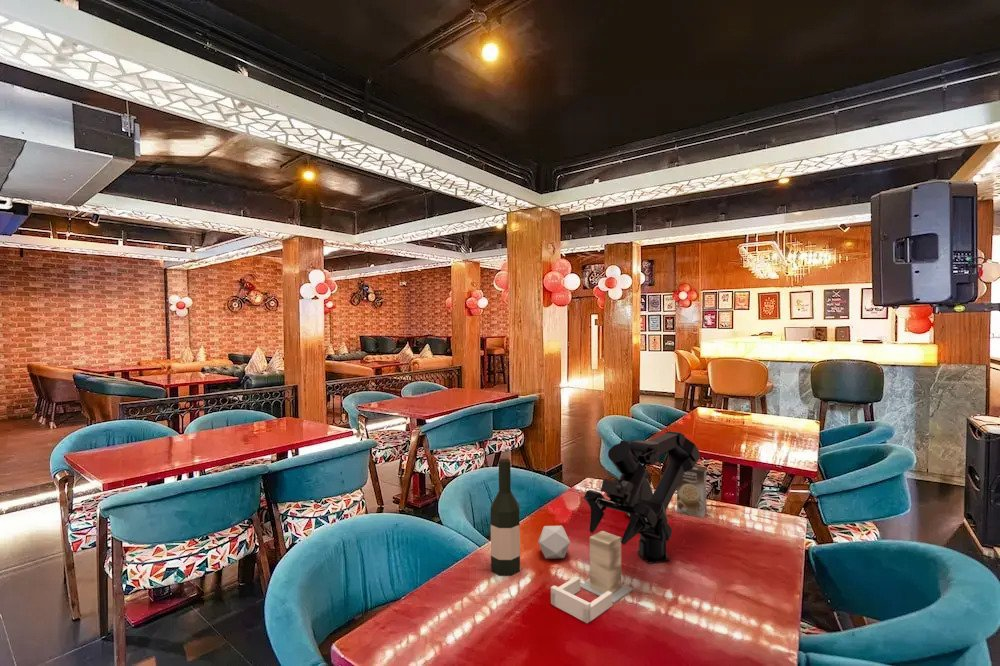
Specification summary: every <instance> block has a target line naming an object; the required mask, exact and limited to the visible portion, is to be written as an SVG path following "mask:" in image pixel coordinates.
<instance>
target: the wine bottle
mask: <svg viewBox="0 0 1000 666" xmlns="http://www.w3.org/2000/svg"><path fill="white" fill-rule="evenodd" d="M511 472H512V471H511V459H510V457H509V456H500V458H499V460H498V492H497V494H496V496H495V497H494V499H493V501H492V503H491V505H490V572H492V573H493V574H496V575H497V576H500V577H501V576H502V577H503V576H504V577H505V576H507V577H512V576H513V575H516V574H518V573H520V572H521V566H520V565H521V556H520V555H521V549H520V548H521V546H520V545H521V544H520V541H521V540H520V539H521V538H520V531H521V530H520V529H521V528H520V527H521V526H520V504H519V502H518V501H517V499H516V496H515V495H514V494H513V493H512V489H511V488H512V485H511V484H512V482H511V479H512V478H511V477H512V476H511V474H512V473H511Z"/></svg>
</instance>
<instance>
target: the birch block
mask: <svg viewBox="0 0 1000 666" xmlns="http://www.w3.org/2000/svg"><path fill="white" fill-rule="evenodd" d="M621 541H622V537H621V536H618V535H616V534H613V533H609V532H607V531H604V530H600V531H598V532H597V533H594V534H592V535H591V536H589V580H590V588H592V589H594V590H597V591H599V592H601V593H603V594H604V593H605V592H607V591H610V592H612V594H613V593H614V592H616V591H617V590H619V589H620V588H622V584H623V583H622V582H623V581H622V543H621Z"/></svg>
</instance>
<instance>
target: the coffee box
mask: <svg viewBox="0 0 1000 666" xmlns="http://www.w3.org/2000/svg"><path fill="white" fill-rule="evenodd" d="M676 513H677V514H682V515H687V516H693V517H696V518H701V519H703V518H705V516H706V513H707V466H700V465H695V466H694V467H693V469H691V470H689V471H687V472H685V473H684V474H683V476H682V478H681V481H680V483H679V485H678V487H677V489H676Z"/></svg>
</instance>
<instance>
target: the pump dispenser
mask: <svg viewBox="0 0 1000 666" xmlns="http://www.w3.org/2000/svg"><path fill="white" fill-rule="evenodd" d="M649 481H650V480H649V478H648V479H645V478H644V480H643V483H642V485H641V487H640V490H639V494H640V497H639V498H636V500H635V502H634V504H633V507H634V505H635V504H636V503H640V501H641V500H642V499H644V500H650V499H651V497H652V495H653V493H654V491H653V488H652V486H651V483H650V482H649ZM626 514H627V516H628V517H630V514H628V513H626Z"/></svg>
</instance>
